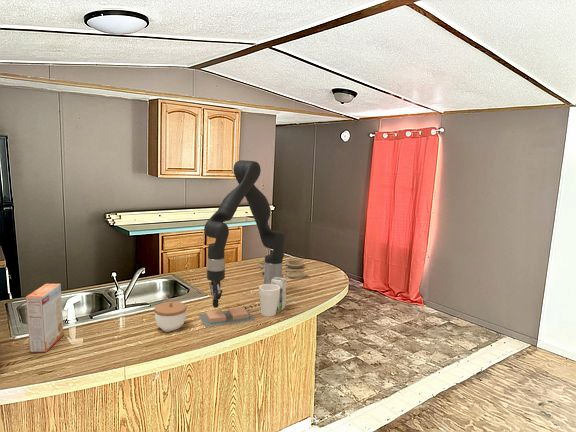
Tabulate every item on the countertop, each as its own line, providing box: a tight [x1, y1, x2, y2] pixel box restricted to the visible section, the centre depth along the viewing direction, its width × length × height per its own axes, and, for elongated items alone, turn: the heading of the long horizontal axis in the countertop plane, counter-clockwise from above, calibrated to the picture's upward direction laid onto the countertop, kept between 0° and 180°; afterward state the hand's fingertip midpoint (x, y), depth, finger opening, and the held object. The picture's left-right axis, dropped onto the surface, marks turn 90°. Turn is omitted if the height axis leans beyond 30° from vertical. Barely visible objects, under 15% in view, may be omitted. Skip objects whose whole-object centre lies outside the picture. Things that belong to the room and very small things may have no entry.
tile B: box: [205, 309, 226, 324], centre depth 176 cm, size 7×2×8 cm
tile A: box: [227, 306, 249, 321], centre depth 180 cm, size 7×2×8 cm
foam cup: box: [258, 283, 280, 317], centre depth 184 cm, size 10×9×13 cm
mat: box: [197, 308, 256, 328], centre depth 178 cm, size 22×14×1 cm, turn 114°
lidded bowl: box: [153, 301, 188, 333], centre depth 166 cm, size 13×13×11 cm
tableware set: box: [257, 259, 309, 279], centre depth 255 cm, size 35×29×4 cm
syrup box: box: [271, 277, 287, 312], centre depth 192 cm, size 6×6×14 cm
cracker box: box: [25, 283, 65, 353], centre depth 148 cm, size 14×6×21 cm, turn 5°
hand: (215, 306), depth 176 cm, fingers closed
